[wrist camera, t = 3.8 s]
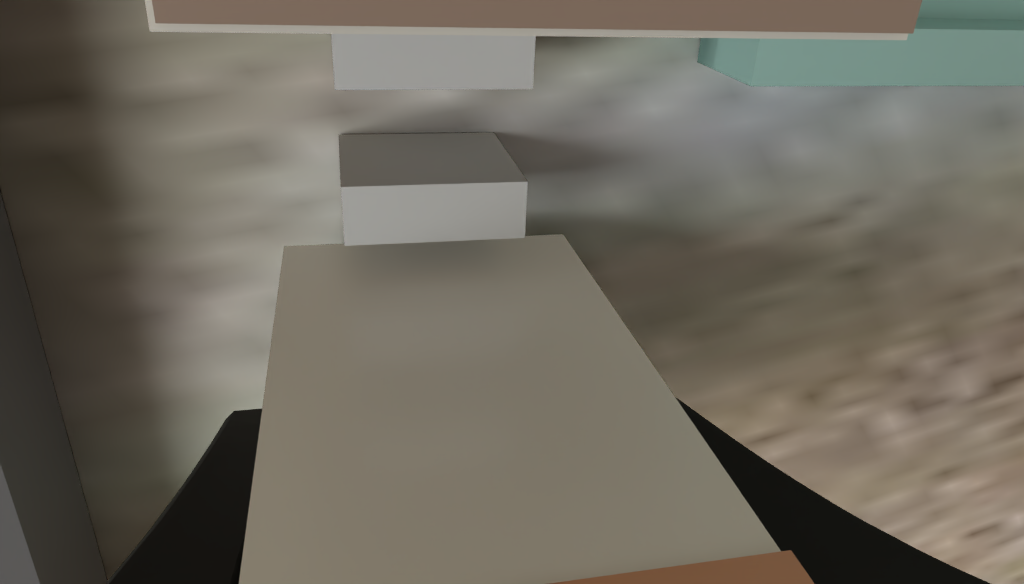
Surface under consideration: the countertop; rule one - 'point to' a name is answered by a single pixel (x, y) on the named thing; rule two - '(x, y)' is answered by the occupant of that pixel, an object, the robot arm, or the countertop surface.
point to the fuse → (547, 18)
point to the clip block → (366, 221)
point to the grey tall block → (480, 432)
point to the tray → (889, 52)
